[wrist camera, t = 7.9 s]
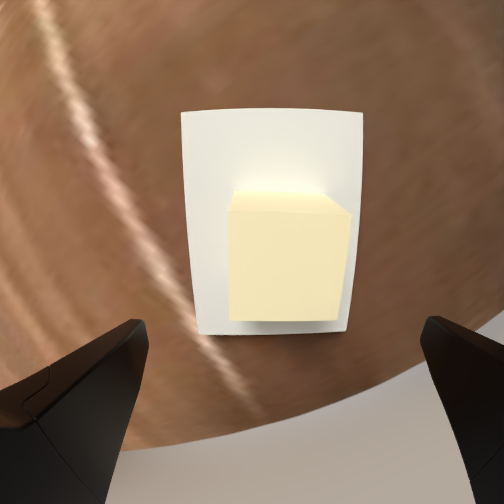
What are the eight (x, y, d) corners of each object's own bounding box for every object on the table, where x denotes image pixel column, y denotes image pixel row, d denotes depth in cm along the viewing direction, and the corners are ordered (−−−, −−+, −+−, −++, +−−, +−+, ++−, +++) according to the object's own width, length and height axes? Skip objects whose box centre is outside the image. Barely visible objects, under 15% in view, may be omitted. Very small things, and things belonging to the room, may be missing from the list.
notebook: (349, 115, 17) (362, 113, 15) (337, 312, 22) (345, 331, 20) (190, 115, 18) (181, 112, 15) (203, 315, 22) (198, 334, 20)
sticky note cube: (324, 193, 17) (352, 215, 12) (316, 276, 19) (336, 320, 14) (234, 191, 17) (228, 211, 12) (234, 274, 18) (229, 320, 14)
